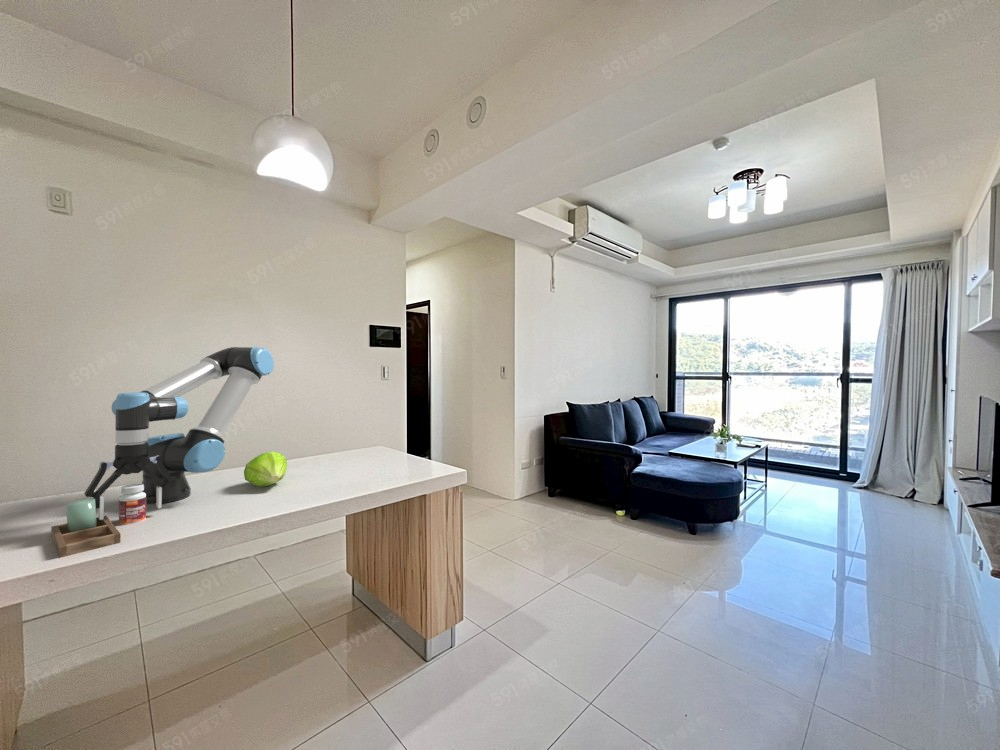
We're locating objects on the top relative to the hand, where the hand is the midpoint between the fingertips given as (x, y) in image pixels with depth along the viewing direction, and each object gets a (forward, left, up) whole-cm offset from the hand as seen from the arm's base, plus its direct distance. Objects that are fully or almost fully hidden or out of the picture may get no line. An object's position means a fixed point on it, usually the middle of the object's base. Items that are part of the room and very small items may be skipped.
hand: (131, 512), depth 122 cm
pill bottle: (0, 0, -3) cm, 3 cm away
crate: (+11, +7, -3) cm, 13 cm away
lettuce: (-42, -9, -3) cm, 44 cm away
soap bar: (+11, +2, -2) cm, 11 cm away
